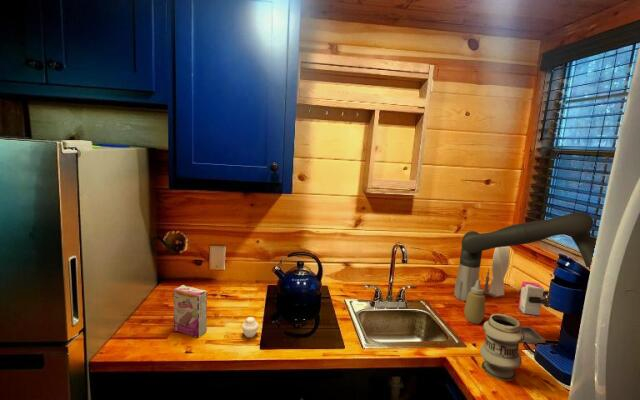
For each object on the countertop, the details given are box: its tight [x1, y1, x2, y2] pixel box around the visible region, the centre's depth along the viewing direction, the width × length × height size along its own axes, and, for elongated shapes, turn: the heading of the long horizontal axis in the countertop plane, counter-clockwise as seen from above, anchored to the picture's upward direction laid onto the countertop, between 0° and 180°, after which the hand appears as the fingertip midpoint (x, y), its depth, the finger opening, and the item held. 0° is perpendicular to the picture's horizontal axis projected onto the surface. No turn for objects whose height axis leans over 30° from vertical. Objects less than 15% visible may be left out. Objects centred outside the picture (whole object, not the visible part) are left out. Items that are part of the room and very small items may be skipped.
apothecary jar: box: [479, 313, 525, 382], centre depth 110 cm, size 12×12×18 cm
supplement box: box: [517, 281, 545, 317], centre depth 132 cm, size 6×6×12 cm
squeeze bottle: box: [463, 279, 486, 325], centre depth 143 cm, size 8×8×18 cm
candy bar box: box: [173, 284, 208, 338], centre depth 123 cm, size 11×5×16 cm, turn 71°
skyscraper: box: [483, 246, 511, 298], centre depth 172 cm, size 8×8×28 cm
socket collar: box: [520, 325, 546, 345], centre depth 134 cm, size 10×10×2 cm
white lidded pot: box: [241, 316, 260, 338], centre depth 124 cm, size 6×6×7 cm
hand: (524, 295), depth 132 cm, fingers closed on supplement box, 6 cm apart
